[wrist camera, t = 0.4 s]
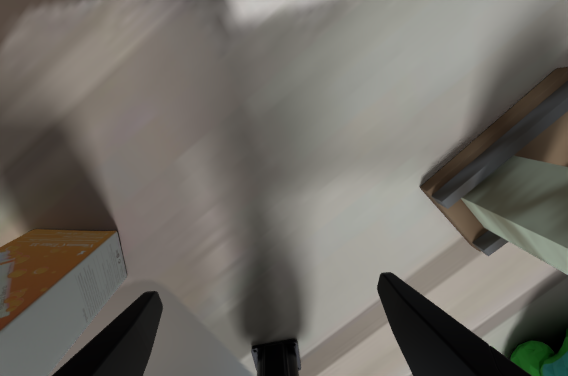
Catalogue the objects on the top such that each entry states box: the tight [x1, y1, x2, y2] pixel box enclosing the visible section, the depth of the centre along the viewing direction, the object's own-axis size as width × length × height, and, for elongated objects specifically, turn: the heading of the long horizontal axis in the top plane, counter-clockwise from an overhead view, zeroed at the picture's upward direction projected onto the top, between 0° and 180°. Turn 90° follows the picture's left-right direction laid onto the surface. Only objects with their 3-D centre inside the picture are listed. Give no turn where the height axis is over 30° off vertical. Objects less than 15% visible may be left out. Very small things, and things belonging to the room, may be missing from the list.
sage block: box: [461, 156, 568, 275], centre depth 18 cm, size 6×6×12 cm
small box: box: [0, 229, 127, 376], centre depth 18 cm, size 8×6×13 cm
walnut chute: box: [420, 67, 568, 256], centre depth 23 cm, size 16×12×3 cm
